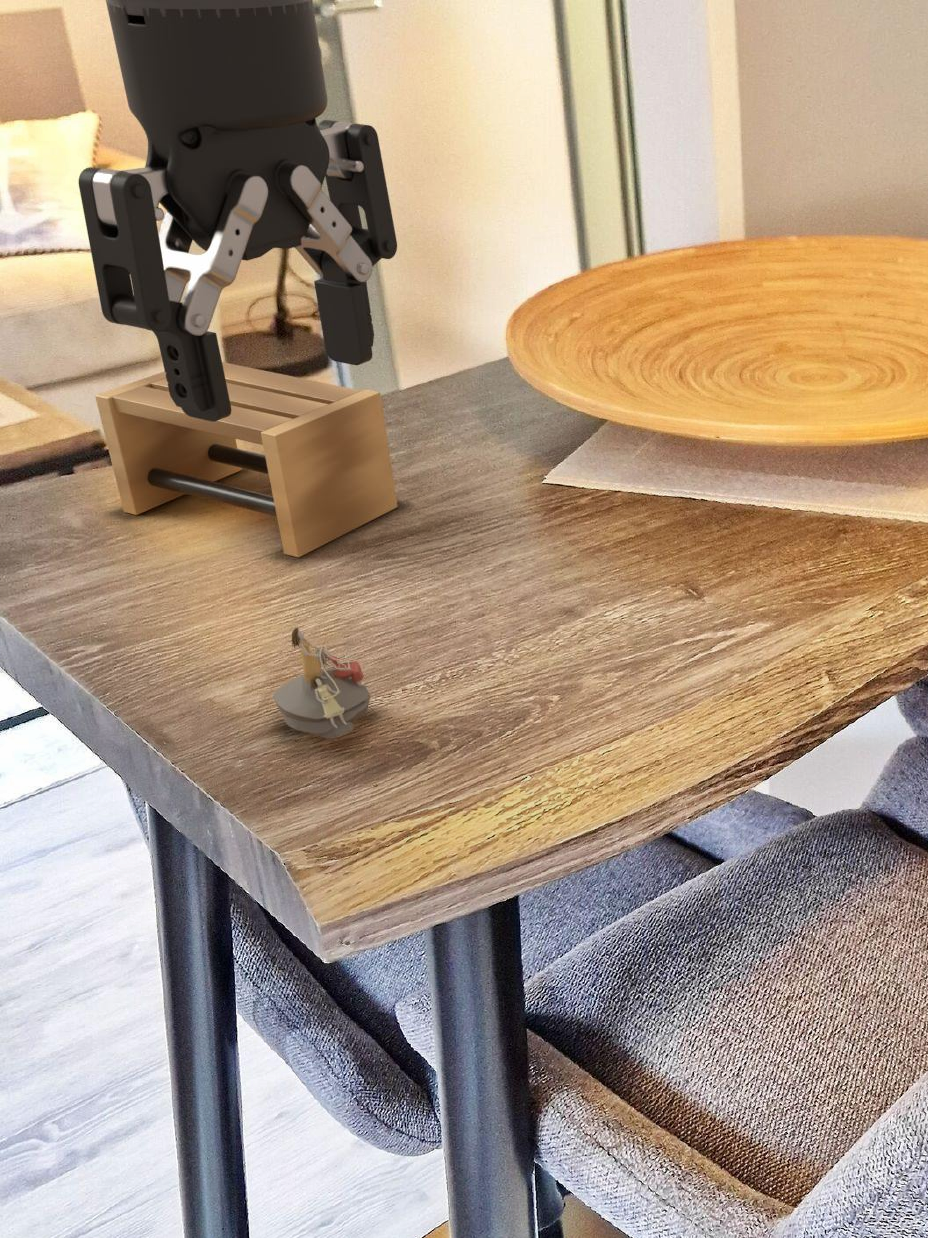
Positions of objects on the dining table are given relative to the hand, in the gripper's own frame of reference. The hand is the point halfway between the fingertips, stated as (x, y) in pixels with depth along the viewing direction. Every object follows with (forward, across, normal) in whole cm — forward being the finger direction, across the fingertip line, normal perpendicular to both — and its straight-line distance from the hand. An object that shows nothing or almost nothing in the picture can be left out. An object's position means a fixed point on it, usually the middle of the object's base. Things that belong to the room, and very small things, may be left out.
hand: (282, 387), depth 67 cm
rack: (+18, -19, -24) cm, 35 cm away
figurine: (+18, 0, -1) cm, 18 cm away
